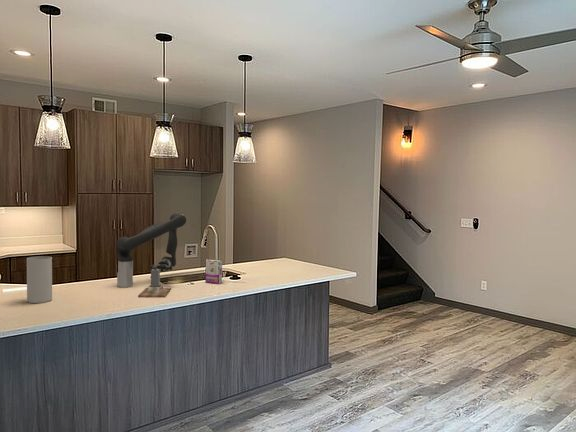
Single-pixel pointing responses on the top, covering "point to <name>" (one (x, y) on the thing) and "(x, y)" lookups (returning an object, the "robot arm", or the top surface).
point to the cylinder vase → (39, 279)
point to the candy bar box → (213, 271)
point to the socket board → (154, 292)
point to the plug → (155, 277)
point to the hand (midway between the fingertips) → (159, 269)
